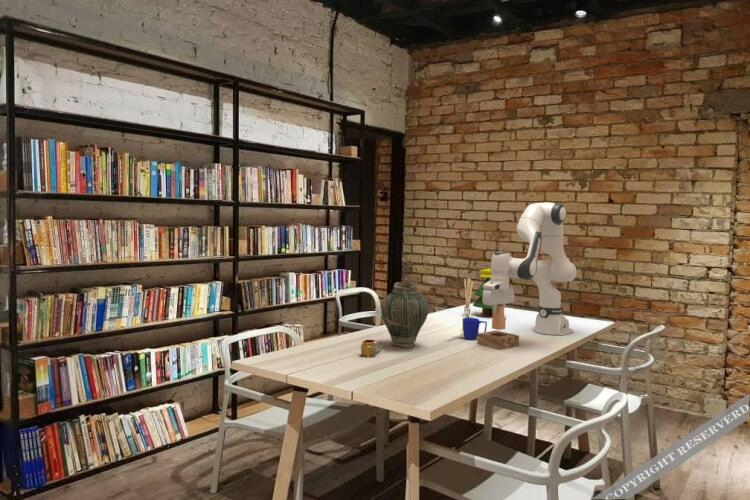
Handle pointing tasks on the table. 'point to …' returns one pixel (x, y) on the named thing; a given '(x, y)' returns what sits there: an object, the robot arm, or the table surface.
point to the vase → (404, 313)
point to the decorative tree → (486, 309)
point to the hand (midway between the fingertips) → (498, 313)
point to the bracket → (499, 319)
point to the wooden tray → (498, 339)
